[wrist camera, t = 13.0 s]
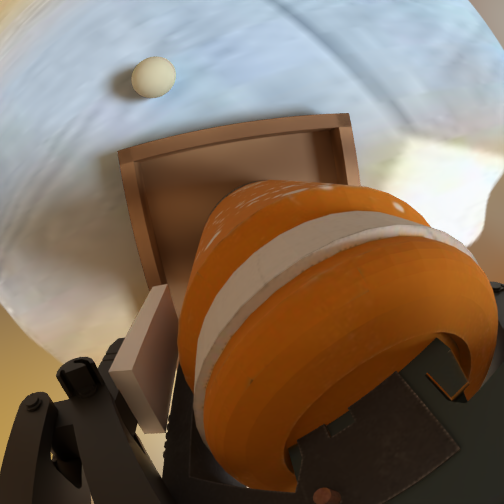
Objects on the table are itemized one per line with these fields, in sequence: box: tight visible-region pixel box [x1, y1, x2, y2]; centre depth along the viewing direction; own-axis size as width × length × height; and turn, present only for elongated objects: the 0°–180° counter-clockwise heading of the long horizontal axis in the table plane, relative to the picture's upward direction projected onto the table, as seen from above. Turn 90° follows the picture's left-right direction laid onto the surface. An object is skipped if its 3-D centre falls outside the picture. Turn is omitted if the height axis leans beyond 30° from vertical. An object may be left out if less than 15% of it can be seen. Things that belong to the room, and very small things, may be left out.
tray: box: [118, 113, 361, 369], centre depth 21 cm, size 18×16×3 cm
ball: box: [131, 57, 176, 98], centre depth 16 cm, size 3×3×3 cm
